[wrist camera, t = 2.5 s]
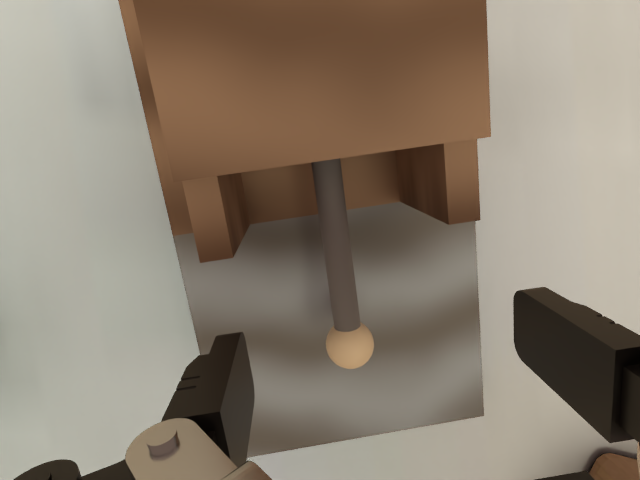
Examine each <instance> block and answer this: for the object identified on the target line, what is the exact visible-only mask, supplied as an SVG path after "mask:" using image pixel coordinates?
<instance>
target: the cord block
mask: <svg viewBox="0 0 640 480" xmlns="http://www.w3.org/2000/svg"><path fill="white" fill-rule="evenodd" d="M311 165H312V172H313V179H314V186H315V193H316V201H317V208H318V215H319V222H320V229H321V236H322V243H323V250H324V257H325V265H326V272H327V279H328V286H329V293H330V300H331V307H332V314H333V321H334V326H333V327H332V328H331V329H330V331H329V333H328V335H327V339H326V349H327V353H328V355H329V357H330V358H331V360H332V361H333V362H334V363H335V364H337V365H338V366H340V367H342V368H346V369H355V368H358V367H361V366H363V365H364V364H365V363H366V362H367V361H368V360H369V359H370V357H371V356H372V353H373V349H374V340H373V336H372V334H371V332H370V330H369V329H368V328H367V327H366V326H365V325H364V324H363V323H361V322H360V315H359V307H358V299H357V291H356V283H355V275H354V267H353V259H352V251H351V242H350V234H349V226H348V218H347V210H346V202H345V194H344V186H343V178H342V169H341V161H340V158H339V159H332V160H325V161H318V162H311Z"/></svg>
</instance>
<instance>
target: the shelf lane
mask: <svg viewBox="0 0 640 480" xmlns="http://www.w3.org/2000/svg"><path fill="white" fill-rule="evenodd" d="M118 1H119V5H120V9H121V14H122V18H123V22H124V27H125V31H126V35H127V40H128V44H129V48H130V53H131V57H132V61H133V66H134V70H135V74H136V78H137V83H138V87H139V91H140V96H141V100H142V104H143V109H144V113H145V117H146V122H147V126H148V130H149V135H150V139H151V143H152V148H153V152H154V156H155V160H156V165H157V169H158V173H159V178H160V182H161V186H162V191H163V195H164V199H165V204H166V208H167V212H168V217H169V221H170V225H171V230H172V234H173V238H174V242H175V247H176V251H177V255H178V260H179V264H180V268H181V273H182V277H183V281H184V286H185V290H186V294H187V299H188V303H189V307H190V312H191V316H192V320H193V324H194V329H195V333H196V337H197V342H198V346H199V350H200V355H205V354H209V352H210V350H211V347H212V345H213V342H214V340H215V337H216V336H217V335H223V334H230V333H237V332H243V333H244V336H245V340H246V345H247V350H248V356H249V361H250V366H251V371H252V376H253V382H254V393H255V400H254V409H253V416H252V423H251V430H250V438H249V445H248V452H247V457H253V456H258V455H264V454H270V453H275V452H281V451H287V450H292V449H298V448H304V447H309V446H315V445H321V444H326V443H332V442H338V441H343V440H349V439H355V438H360V437H366V436H372V435H377V434H383V433H389V432H395V431H400V430H406V429H412V428H417V427H423V426H429V425H434V424H440V423H446V422H451V421H457V420H463V419H468V418H474V417H480V416H484V407H483V385H482V363H481V342H480V320H479V298H478V276H477V254H476V233H475V221H478V220H480V203H479V179H478V156H477V139H478V138H485V137H491V128H490V99H489V70H488V41H487V12H486V0H118ZM339 158H340V161H341V169H342V178H343V186H344V194H345V202H346V210H347V218H348V226H349V234H350V242H351V251H352V259H353V267H354V275H355V283H356V291H357V299H358V307H359V315H360V322H361V323H363V324H364V325H365V326H366V327H367V328H368V329H369V330H370V332H371V334H372V336H373V340H374V349H373V353H372V356H371V357H370V359H369V360H368V361H367V362H366V363H365V364H364V365H363V366H361V367H358V368H355V369H346V368H342V367H340V366H338V365H337V364H335V363H334V362H333V361H332V360H331V358H330V357H329V355H328V353H327V349H326V339H327V335H328V333H329V331H330V329H331V328H332V327H333V326H334V321H333V314H332V307H331V300H330V293H329V286H328V279H327V272H326V265H325V257H324V250H323V243H322V236H321V229H320V222H319V215H318V208H317V201H316V193H315V186H314V179H313V172H312V165H311V162H318V161H325V160H332V159H339Z"/></svg>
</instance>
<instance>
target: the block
mask: <svg viewBox="0 0 640 480" xmlns="http://www.w3.org/2000/svg"><path fill="white" fill-rule="evenodd" d="M589 474H590V475H591V476H592V477H593V478H594V480H640V477H639V469H638V462H637V459H633V458H629V457H625V456H620V455H616V454H612V453H606V454H603V455H601V456H600V457H599V458H597V459H596V461H595V463H594V465H593V467H592V469H591V470H590V472H589Z"/></svg>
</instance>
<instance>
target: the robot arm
mask: <svg viewBox="0 0 640 480" xmlns="http://www.w3.org/2000/svg"><path fill="white" fill-rule="evenodd" d="M514 344H515V348H516V351H517V353H518V355H519V357H520V359H521V360H522V361H523V362H524V363H525V364H526V365H527V366H528V367H529V368H530V369H531V370H532V371H533V372H534V373H535V374H537V375H538V376H539V377H540V378H541V379H542V380H543V381H544V382H545V383H546V384H547V385H548V386H549V387H550V388H552V389H553V390H554V391H555V392H556V393H557V394H558V395H559V396H560V397H561V398H562V399H563V400H564V401H565V402H567V403H568V404H569V405H570V406H571V407H572V408H573V409H574V410H575V411H576V412H577V413H578V414H579V415H580V416H581V417H583V418H584V419H585V420H586V421H587V422H588V423H589V424H590V425H591V426H592V427H593V428H594V429H595V430H596V431H598V432H599V433H600V434H601V435H602V436H603V437H604V438H605V439H606V440H607V441H608V442H609V443H613V442H619V441H625V440H631V439H635V440H636V441H638V446H637V462H638V469H639V477H640V335H638V334H636V333H634V332H633V331H631V330H629V329H627V328H625V327H623V326H622V325H620V324H615V322H614V321H612V320H611V319H609V318H607V317H605V316H604V317H602V315H601V314H600V313H598V312H596V311H594V310H592V309H591V308H589V307H587V306H584V305H581V304H577V303H574V302H571V301H569V300H567V299H566V298H564V297H562V296H560V295H558V294H557V293H555V292H553V291H551V290H549V289H548V288H546V287H540V288H533V289H526V290H520V291H517V292H516V293H515V295H514ZM176 390H177V391H175V393H174V395H173V397H172V399H171V401H170V404H169V406H168V408H167V410H166V412H165V414H164V416H163V419H162V421H161V422H160V423H157V424H155V425H153V426H151V427H150V428H148V429H146V430H145V431H143V432H142V433H141V434H140V435H138V436H137V437H136V438H135V439H134V440H133V441H132V443H131V444H130V446H129V447H128V449H127V451H126V455H125V460H123V461H121V462H118V463H116V464H114V465H111V466H108V467H106V468H103V469H101V470H98V471H95V472H93V473H90V474H88V475H85V476H82V477H81V475H80V472H79V469H78V466H77V464H76V463H75V462H73V461H71V460H54V461H50V462H47V463H44V464H41V465H39V466H36V467H34V468H32V469H30V470H28V471H26V472H24V473H23V474H21V475H20V476H18V477H16V478H15V479H14V480H272V479H271V478H270V477H269V476H268V475H267V474H266V473H265V472H264V471H263V470H262V469H261V468H260V467H259V466H258V465H256V464H255V463H254V462H252V461H246V459H247V452H248V445H249V438H250V430H251V423H252V416H253V409H254V400H255V393H254V382H253V376H252V371H251V366H250V361H249V356H248V350H247V345H246V340H245V336H244V333H243V332H237V333H230V334H223V335H217V336H216V337H215V340H214V342H213V345H212V347H211V350H210V352H209V354H205V355H199V356H198V357H197V358H196V359H195V360H193V361H192V362H191V363H190V364H189V365H188V366H187V367H186V369H185V371H184V374H183V376H182V378H181V381H180V382H179V384H178V386H177V389H176ZM536 480H594V478H593V477H592V476H591V475H590V474H589V473H588V472H587V471H583V472H577V473H571V474H565V475H559V476H553V477H547V478H542V479H536Z"/></svg>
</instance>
